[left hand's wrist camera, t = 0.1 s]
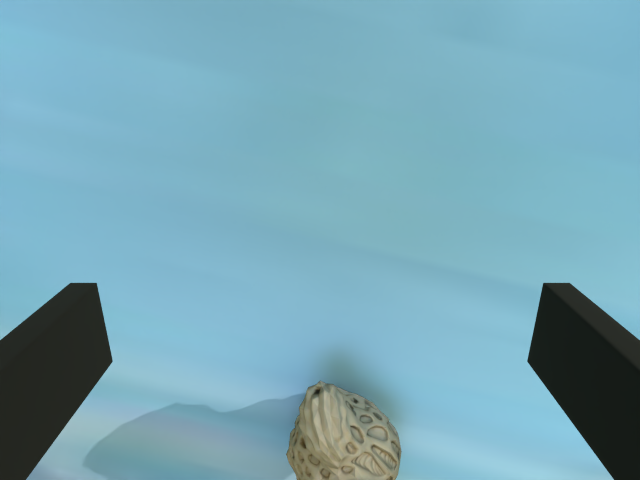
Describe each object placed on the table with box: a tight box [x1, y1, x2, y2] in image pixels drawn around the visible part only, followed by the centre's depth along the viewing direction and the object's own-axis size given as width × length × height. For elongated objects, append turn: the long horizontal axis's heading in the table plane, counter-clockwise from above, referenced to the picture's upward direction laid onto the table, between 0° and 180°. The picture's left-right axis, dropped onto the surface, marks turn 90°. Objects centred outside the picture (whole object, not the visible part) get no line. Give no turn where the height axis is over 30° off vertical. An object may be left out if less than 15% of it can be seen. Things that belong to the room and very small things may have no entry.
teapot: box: [286, 381, 401, 480], centre depth 42 cm, size 21×12×15 cm, turn 13°
